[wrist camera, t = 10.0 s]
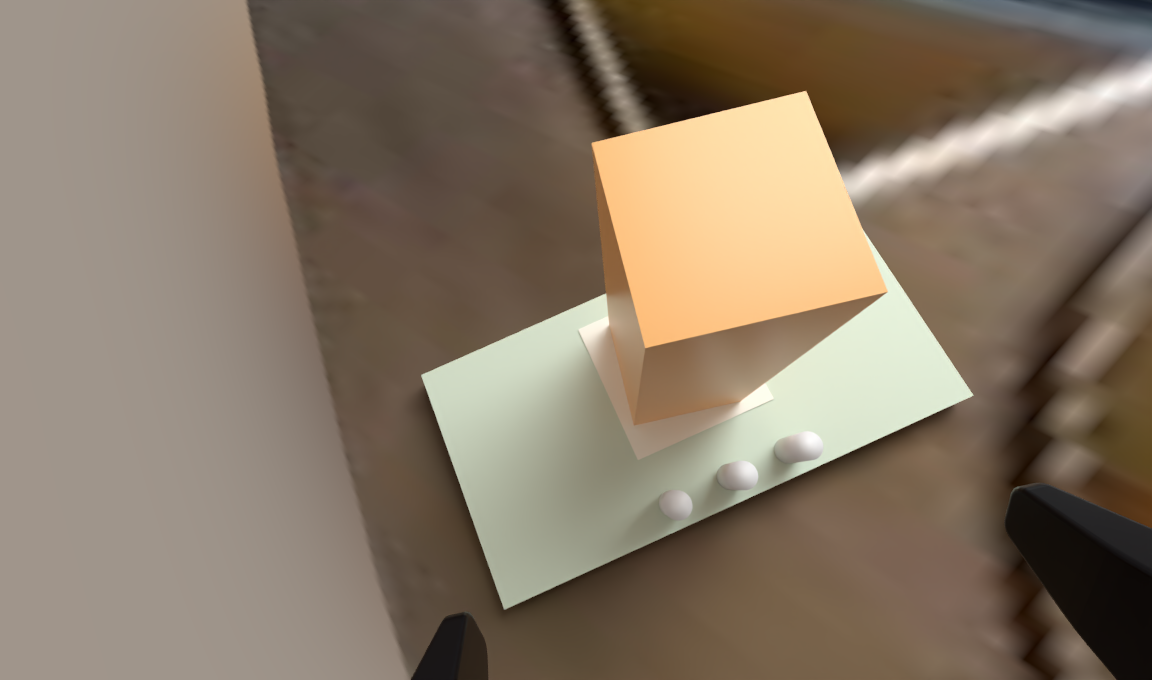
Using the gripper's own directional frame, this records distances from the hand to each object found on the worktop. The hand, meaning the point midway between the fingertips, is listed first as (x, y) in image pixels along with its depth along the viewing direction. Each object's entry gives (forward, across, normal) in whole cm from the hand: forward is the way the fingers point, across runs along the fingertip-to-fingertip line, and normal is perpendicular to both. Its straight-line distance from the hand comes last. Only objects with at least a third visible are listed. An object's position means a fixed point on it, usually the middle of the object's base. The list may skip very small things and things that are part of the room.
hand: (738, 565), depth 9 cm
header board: (+13, -2, +6) cm, 15 cm away
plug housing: (+13, -2, +4) cm, 14 cm away
